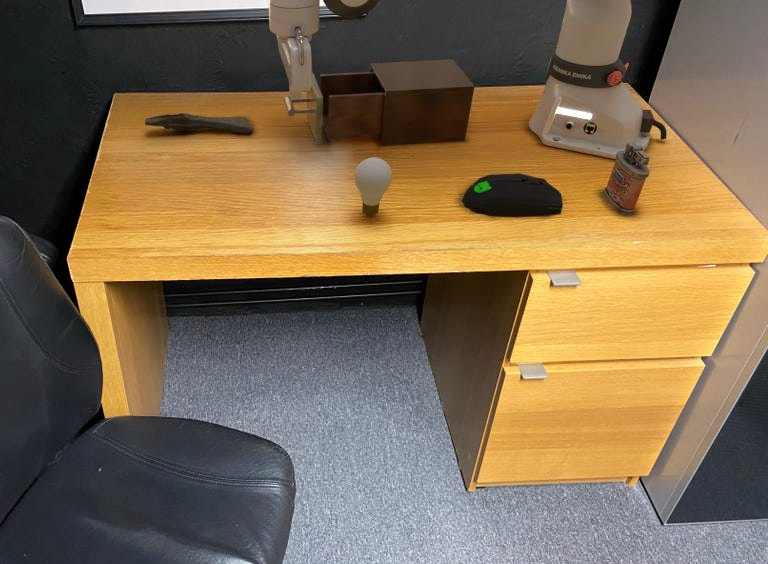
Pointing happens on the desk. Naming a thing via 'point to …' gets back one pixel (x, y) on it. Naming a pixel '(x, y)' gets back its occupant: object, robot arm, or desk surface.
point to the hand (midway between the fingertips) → (295, 96)
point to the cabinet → (423, 101)
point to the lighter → (627, 179)
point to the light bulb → (372, 183)
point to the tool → (200, 122)
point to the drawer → (343, 106)
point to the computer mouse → (513, 196)
